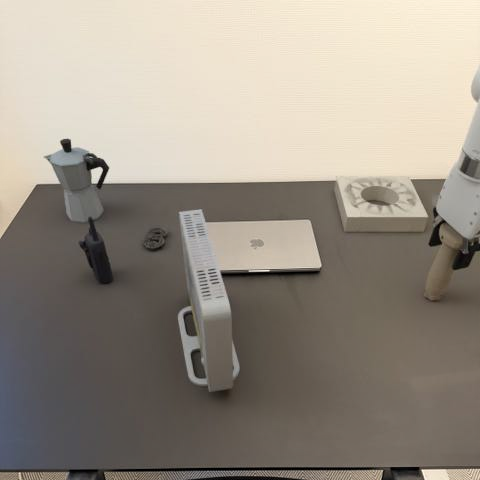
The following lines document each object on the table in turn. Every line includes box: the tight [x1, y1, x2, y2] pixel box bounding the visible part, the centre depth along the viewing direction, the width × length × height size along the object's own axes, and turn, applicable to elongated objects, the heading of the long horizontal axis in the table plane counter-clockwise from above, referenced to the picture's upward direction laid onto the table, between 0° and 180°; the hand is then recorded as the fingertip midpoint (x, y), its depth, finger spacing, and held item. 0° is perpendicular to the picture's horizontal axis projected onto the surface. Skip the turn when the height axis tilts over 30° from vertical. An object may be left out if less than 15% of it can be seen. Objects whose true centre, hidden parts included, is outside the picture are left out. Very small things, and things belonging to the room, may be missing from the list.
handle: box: [423, 222, 474, 302], centre depth 86 cm, size 5×6×15 cm
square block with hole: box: [333, 175, 429, 233], centre depth 112 cm, size 18×18×4 cm
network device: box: [177, 209, 240, 393], centre depth 76 cm, size 26×9×20 cm, turn 12°
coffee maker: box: [43, 138, 110, 224], centre depth 106 cm, size 15×9×18 cm, turn 80°
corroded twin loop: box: [141, 226, 168, 251], centre depth 104 cm, size 5×8×1 cm, turn 175°
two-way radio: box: [78, 216, 114, 284], centre depth 91 cm, size 6×4×15 cm
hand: (447, 255), depth 85 cm, fingers closed on handle, 6 cm apart
